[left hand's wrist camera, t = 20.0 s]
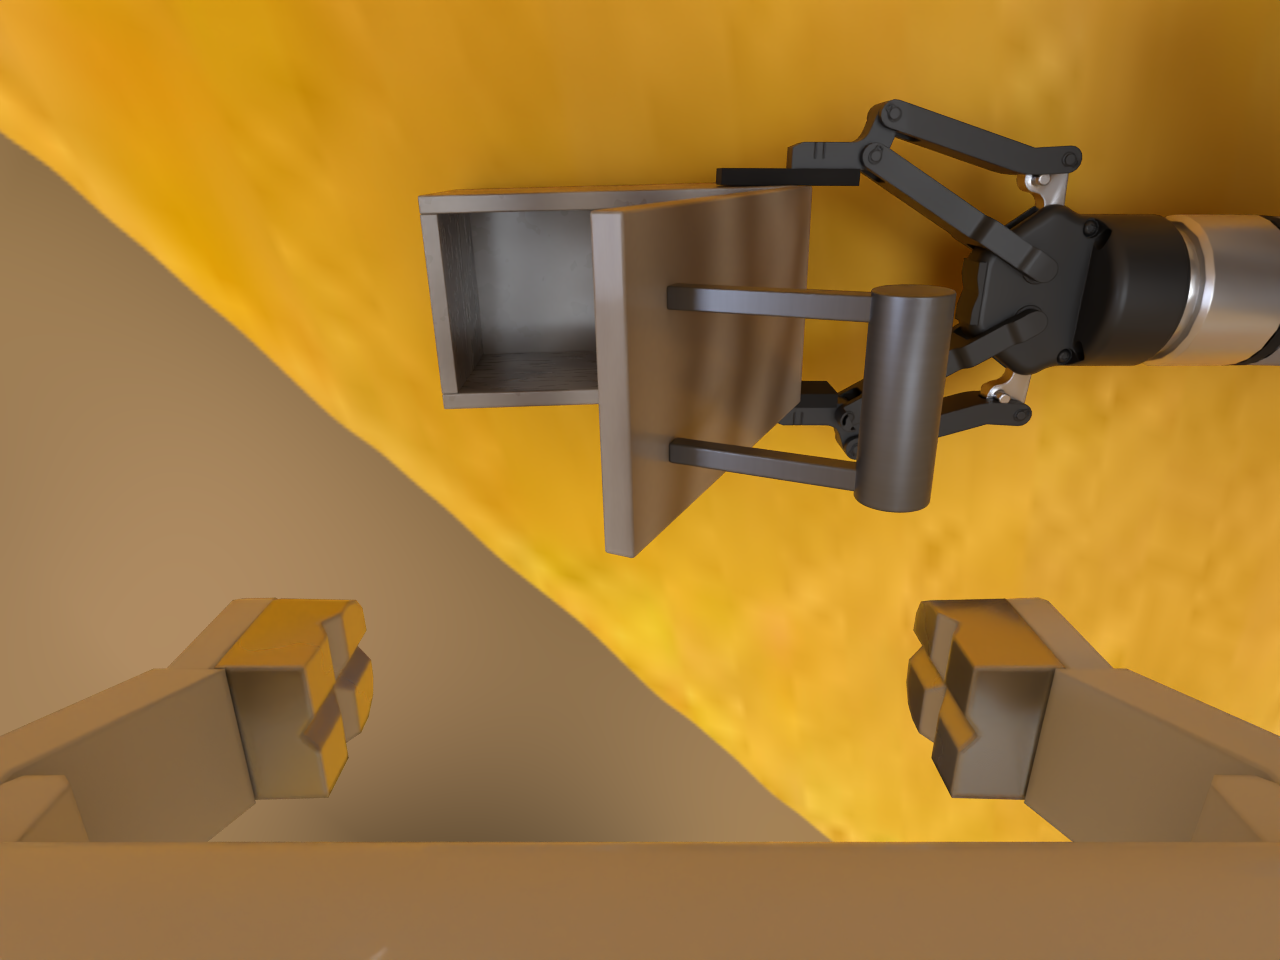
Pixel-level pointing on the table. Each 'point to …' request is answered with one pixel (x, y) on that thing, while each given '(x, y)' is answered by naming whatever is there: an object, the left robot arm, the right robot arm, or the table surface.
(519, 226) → the chest
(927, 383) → the lid
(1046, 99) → the table surface
